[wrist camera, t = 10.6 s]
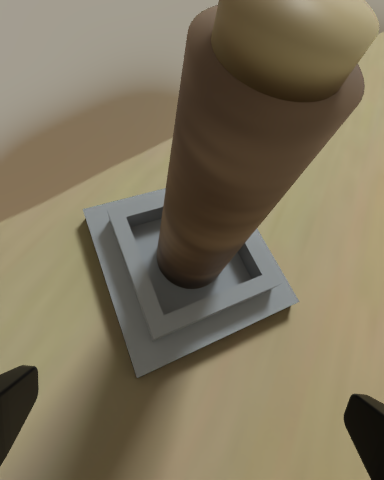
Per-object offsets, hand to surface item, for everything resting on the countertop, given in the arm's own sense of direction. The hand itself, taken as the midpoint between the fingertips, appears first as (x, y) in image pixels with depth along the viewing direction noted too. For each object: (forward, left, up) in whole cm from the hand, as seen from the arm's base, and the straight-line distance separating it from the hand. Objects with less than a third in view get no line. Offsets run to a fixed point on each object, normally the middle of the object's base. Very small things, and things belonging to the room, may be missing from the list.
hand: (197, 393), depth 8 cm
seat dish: (+7, -4, -10) cm, 13 cm away
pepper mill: (+7, -4, -9) cm, 12 cm away
